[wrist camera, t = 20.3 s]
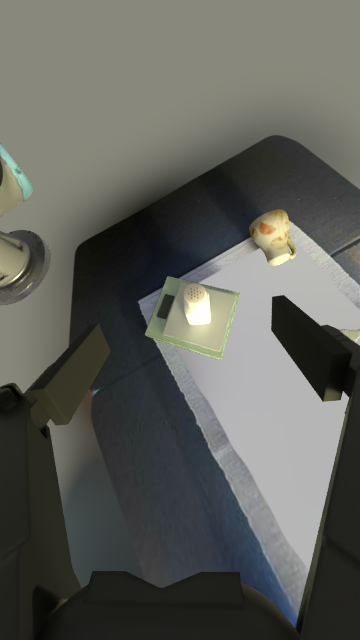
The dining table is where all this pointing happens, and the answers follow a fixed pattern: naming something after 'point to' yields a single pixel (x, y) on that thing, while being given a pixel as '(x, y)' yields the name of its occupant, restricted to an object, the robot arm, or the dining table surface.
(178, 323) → the scale
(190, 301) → the pepper shaker
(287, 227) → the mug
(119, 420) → the dining table surface
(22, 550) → the robot arm
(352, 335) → the fork
